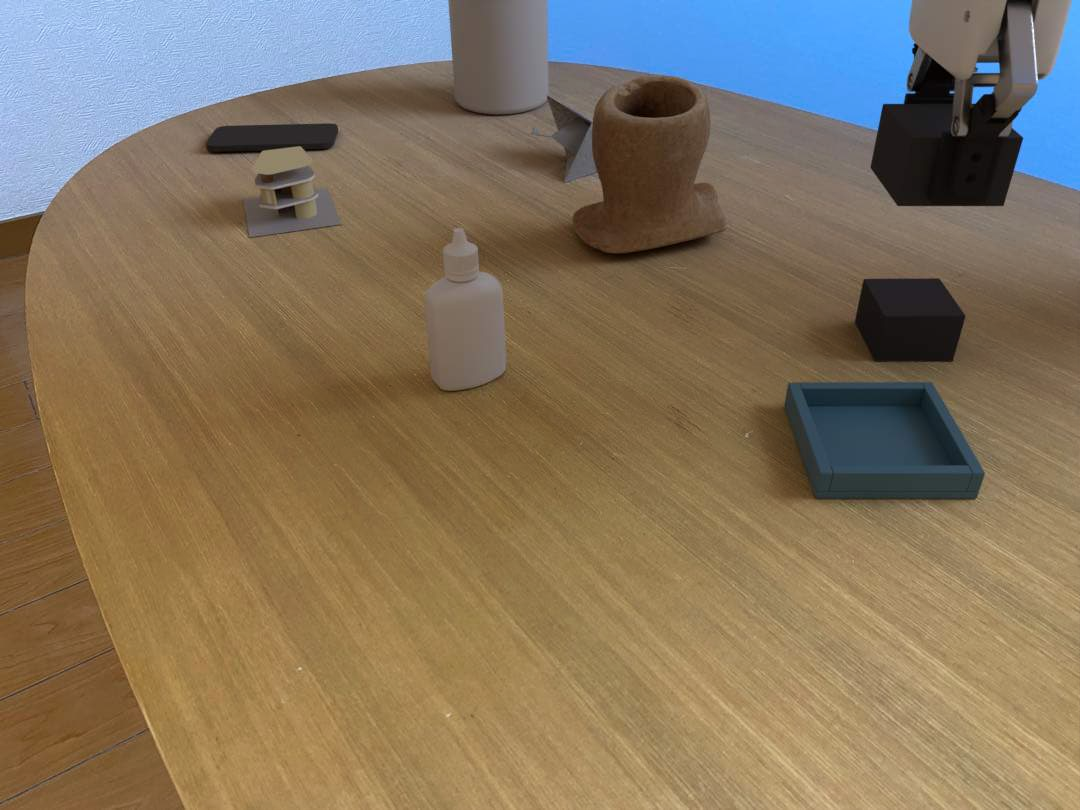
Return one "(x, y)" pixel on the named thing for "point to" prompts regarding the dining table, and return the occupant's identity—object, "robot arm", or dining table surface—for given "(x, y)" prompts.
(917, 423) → the dock
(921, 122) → the dark brown square block
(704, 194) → the stone cup
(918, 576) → the dining table surface
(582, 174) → the paper boat
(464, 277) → the eye dropper bottle
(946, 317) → the black block
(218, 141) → the phone
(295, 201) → the stacked layers on plate
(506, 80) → the cylinder vase
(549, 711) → the dining table surface
